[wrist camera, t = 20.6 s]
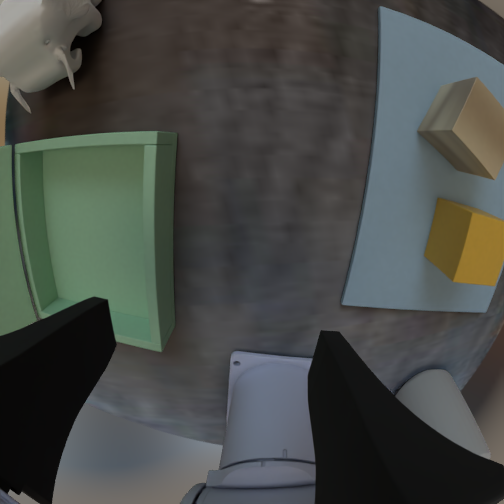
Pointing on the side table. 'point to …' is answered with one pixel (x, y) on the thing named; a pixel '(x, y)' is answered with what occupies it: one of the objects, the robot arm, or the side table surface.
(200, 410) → the side table surface
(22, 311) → the lunchbox lid
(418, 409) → the beverage can
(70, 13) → the elephant figurine
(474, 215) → the mustard block
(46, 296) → the box
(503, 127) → the birch block
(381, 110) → the placemat
